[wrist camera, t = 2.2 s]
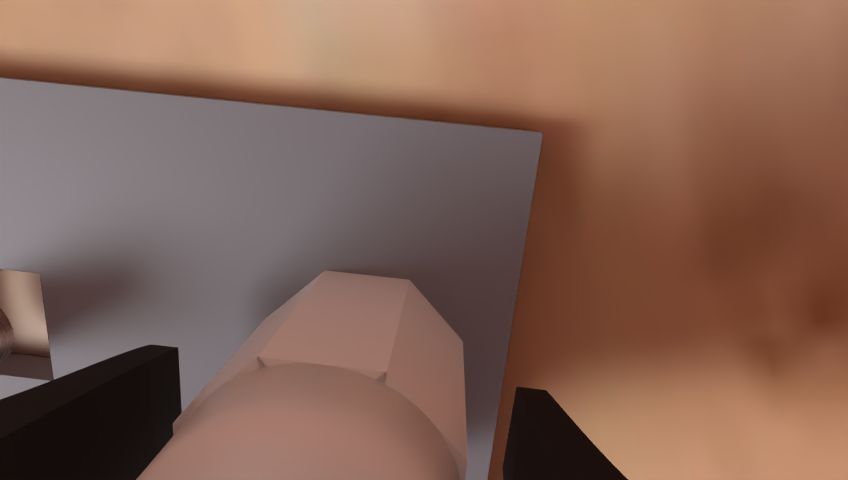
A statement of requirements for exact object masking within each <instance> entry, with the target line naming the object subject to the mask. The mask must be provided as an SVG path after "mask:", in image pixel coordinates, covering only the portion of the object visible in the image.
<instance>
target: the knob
mask: <svg viewBox="0 0 848 480" xmlns="http://www.w3.org/2000/svg"><path fill="white" fill-rule="evenodd" d="M467 460H468V457H467V431H466V406H465V381H464V356H463V341H462V340H461V338H460V337H459V336H458V335H457V334H456V333H455V332H454V330H453V329H452V328H451V327H450V326H449V325H448V323H447V322H446V321H445V320H444V319H443V318H442V317H441V315H440V314H439V313H438V312H437V311H436V310H435V308H434V307H433V306H432V305H431V304H430V303H429V302H428V300H427V299H426V298H425V297H424V296H423V295H422V293H421V292H420V291H419V290H418V289H417V288H416V287H415V285H414V284H413V283H412V282H411V281H410V280H407V279H398V278H389V277H380V276H371V275H362V274H353V273H344V272H335V271H326V270H325V271H324V272H323V273H321V274H320V275H319V276H318V277H316V278H315V279H314V280H313V281H311V282H310V283H309V284H308V285H306V286H305V287H304V288H303V289H302V290H300V291H299V292H298V293H297V294H295V295H294V296H293V297H292V298H290V299H289V300H288V301H287V302H285V303H284V304H283V305H282V306H281V307H279V308H278V309H277V310H276V311H274V312H273V313H272V314H271V315H269V316H268V317H267V318H265V320H264V321H263V322H262V323H261V324H260V325H259V326H258V328H257V329H256V330H255V331H254V332H253V333H252V334H251V335H250V337H249V338H248V339H247V340H246V341H245V342H244V343H243V344H242V346H241V347H240V348H239V349H238V350H237V351H236V352H235V354H234V355H233V356H232V357H231V358H230V359H229V360H228V361H227V363H226V364H225V365H224V366H223V367H222V368H221V369H220V370H219V372H218V373H217V374H216V375H215V376H214V377H213V378H212V380H211V381H210V382H209V383H208V384H207V385H206V386H205V387H204V389H203V390H202V391H201V392H200V393H199V394H198V395H197V396H196V398H195V399H194V400H193V401H192V402H191V403H190V404H189V406H188V407H187V408H186V409H185V410H184V411H183V412H182V413H181V415H180V416H179V417H178V418H177V419H176V420H175V421H174V422H173V437H172V438H171V439H170V440H169V442H168V443H167V444H166V445H165V446H164V447H163V449H162V450H161V451H160V452H159V453H158V455H157V456H156V457H155V458H154V459H153V460H152V462H151V463H150V464H149V465H148V466H147V468H146V469H145V470H144V471H143V472H142V473H141V475H140V476H139V477H138V478H137V479H136V480H465V473H466V466H467Z"/></svg>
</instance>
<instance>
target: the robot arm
mask: <svg viewBox="0 0 848 480" xmlns="http://www.w3.org/2000/svg"><path fill="white" fill-rule="evenodd" d="M181 413H182V408H181V389H180V370H179V351H178V347H169V346H161V345H152V344H150V345H146V346H143V347H139V348H136V349H133V350H130V351H127V352H124V353H122V354H119V355H116V356H114V357H111V358H108V359H106V360H103V361H101V362H98V363H95V364H93V365H90V366H88V367H85V368H83V369H80V370H77V371H75V372H72V373H70V374H67V375H65V376H62V377H59V378H57V379H54V380H52V381H49V382H47V383H44V384H42V385H39V386H36V387H34V388H31V389H28V390H25V391H23V392H20V393H17V394H14V395H12V396H9V397H6V398H3V399H0V480H136V479H137V478H138V477H139V476H140V475H141V473H142V472H143V471H144V470H145V469H146V468H147V466H148V465H149V464H150V463H151V462H152V460H153V459H154V458H155V457H156V456H157V455H158V453H159V452H160V451H161V450H162V449H163V447H164V446H165V445H166V444H167V443H168V442H169V440H170V439H171V438H172V437H173V422H174V421H175V420H176V419H177V418H178V417H179V416H180V415H181ZM503 480H628V479H627V478H626V477H625V476H624V475H623V474H622V473H621V472H620V471H619V470H618V469H617V468H616V467H615V466H614V465H613V464H612V463H611V462H610V461H609V460H608V459H607V458H606V457H605V456H604V455H603V454H602V453H601V452H600V450H599V449H598V448H597V447H596V446H595V445H594V444H593V443H592V442H591V441H590V440H589V438H588V437H587V436H586V435H585V434H584V433H583V432H582V431H581V430H580V428H579V427H578V426H577V425H576V424H575V423H574V422H573V420H572V419H571V418H570V417H569V416H568V415H567V413H566V412H565V411H564V410H563V409H562V408H561V407H560V405H559V404H558V403H557V402H556V401H555V400H554V398H553V397H552V396H551V395H550V394H549V393H548V392H547V391H546V390H539V389H531V388H522V387H517V388H516V393H515V399H514V405H513V411H512V417H511V423H510V428H509V434H508V440H507V446H506V452H505V458H504V464H503Z"/></svg>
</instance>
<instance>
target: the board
mask: <svg viewBox="0 0 848 480" xmlns="http://www.w3.org/2000/svg"><path fill="white" fill-rule="evenodd" d="M542 136H543V133H542V132H538V131H534V130H524V129H515V128H505V127H495V126H485V125H475V124H465V123H455V122H445V121H435V120H425V119H416V118H406V117H396V116H386V115H376V114H366V113H356V112H346V111H336V110H326V109H317V108H307V107H297V106H287V105H277V104H267V103H257V102H247V101H237V100H227V99H218V98H208V97H198V96H188V95H178V94H168V93H158V92H148V91H138V90H128V89H118V88H109V87H99V86H89V85H79V84H69V83H59V82H49V81H39V80H29V79H19V78H10V77H0V269H6V270H14V271H23V272H32V273H40V280H41V287H42V295H43V302H44V310H45V317H46V325H47V332H48V340H49V347H50V355H51V358H49V357H40V356H32V355H23V354H15V353H10V355H9V356H8V357H7V358H6V359H5V360H4V361H3V362H1V363H0V399H3V398H6V397H9V396H12V395H14V394H17V393H20V392H23V391H25V390H28V389H31V388H34V387H36V386H39V385H42V384H44V383H47V382H49V381H52V380H54V379H57V378H59V377H62V376H65V375H67V374H70V373H72V372H75V371H77V370H80V369H83V368H85V367H88V366H90V365H93V364H95V363H98V362H101V361H103V360H106V359H108V358H111V357H114V356H116V355H119V354H122V353H124V352H127V351H130V350H133V349H136V348H139V347H143V346H146V345H150V344H152V345H161V346H169V347H178V351H179V370H180V389H181V408H182V412H183V411H184V410H185V409H186V408H187V407H188V406H189V404H190V403H191V402H192V401H193V400H194V399H195V398H196V396H197V395H198V394H199V393H200V392H201V391H202V390H203V389H204V387H205V386H206V385H207V384H208V383H209V382H210V381H211V380H212V378H213V377H214V376H215V375H216V374H217V373H218V372H219V370H220V369H221V368H222V367H223V366H224V365H225V364H226V363H227V361H228V360H229V359H230V358H231V357H232V356H233V355H234V354H235V352H236V351H237V350H238V349H239V348H240V347H241V346H242V344H243V343H244V342H245V341H246V340H247V339H248V338H249V337H250V335H251V334H252V333H253V332H254V331H255V330H256V329H257V328H258V326H259V325H260V324H261V323H262V322H263V321H264V320H265V318H267V317H268V316H269V315H271V314H272V313H273V312H274V311H276V310H277V309H278V308H279V307H281V306H282V305H283V304H284V303H285V302H287V301H288V300H289V299H290V298H292V297H293V296H294V295H295V294H297V293H298V292H299V291H300V290H302V289H303V288H304V287H305V286H306V285H308V284H309V283H310V282H311V281H313V280H314V279H315V278H316V277H318V276H319V275H320V274H321V273H323V272H324V271H325V270H326V271H335V272H344V273H353V274H362V275H371V276H380V277H389V278H398V279H407V280H410V281H411V282H412V283H413V284H414V285H415V287H416V288H417V289H418V290H419V291H420V292H421V293H422V295H423V296H424V297H425V298H426V299H427V300H428V302H429V303H430V304H431V305H432V306H433V307H434V308H435V310H436V311H437V312H438V313H439V314H440V315H441V317H442V318H443V319H444V320H445V321H446V322H447V323H448V325H449V326H450V327H451V328H452V329H453V330H454V332H455V333H456V334H457V335H458V336H459V337H460V338H461V340H462V341H463V356H464V381H465V406H466V431H467V457H468V460H467V466H466V473H465V480H487V478H488V472H489V466H490V459H491V453H492V447H493V441H494V434H495V428H496V422H497V416H498V410H499V403H500V397H501V391H502V385H503V379H504V372H505V366H506V360H507V354H508V347H509V341H510V335H511V329H512V323H513V316H514V310H515V304H516V298H517V292H518V285H519V279H520V273H521V267H522V261H523V254H524V248H525V242H526V236H527V229H528V223H529V217H530V211H531V205H532V198H533V192H534V186H535V180H536V174H537V167H538V161H539V155H540V149H541V143H542Z"/></svg>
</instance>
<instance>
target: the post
mask: <svg viewBox="0 0 848 480" xmlns="http://www.w3.org/2000/svg"><path fill="white" fill-rule="evenodd" d="M13 346H14V333H13V329H12V326H11V323H10V321H9V319H8V318H7V316H6V315H5V313H4V312H3V311H2V310H1V309H0V363H1V362H3V361H4V360H5V359H6V358H7V357H8V356H9V355H10V353H11V352H12V349H13Z"/></svg>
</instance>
